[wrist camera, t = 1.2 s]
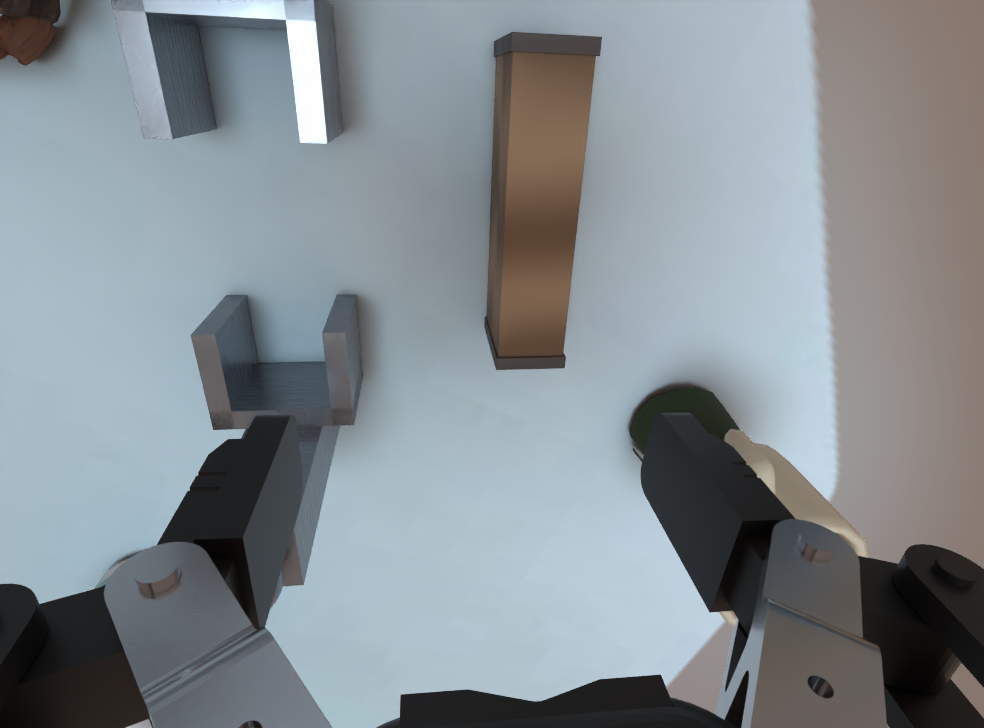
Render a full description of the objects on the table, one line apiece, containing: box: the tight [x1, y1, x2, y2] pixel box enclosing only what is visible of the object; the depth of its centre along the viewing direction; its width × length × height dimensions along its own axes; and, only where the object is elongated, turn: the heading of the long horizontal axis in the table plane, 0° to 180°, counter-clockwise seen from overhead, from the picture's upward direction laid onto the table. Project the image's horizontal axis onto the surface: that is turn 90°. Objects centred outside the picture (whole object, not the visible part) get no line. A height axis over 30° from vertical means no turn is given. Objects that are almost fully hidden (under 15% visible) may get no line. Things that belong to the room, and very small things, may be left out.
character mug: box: [630, 387, 870, 627], centre depth 30 cm, size 11×7×13 cm, turn 16°
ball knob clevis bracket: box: [111, 0, 363, 608], centre depth 20 cm, size 24×7×14 cm, turn 178°
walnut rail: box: [485, 32, 602, 370], centre depth 25 cm, size 14×3×5 cm, turn 178°
